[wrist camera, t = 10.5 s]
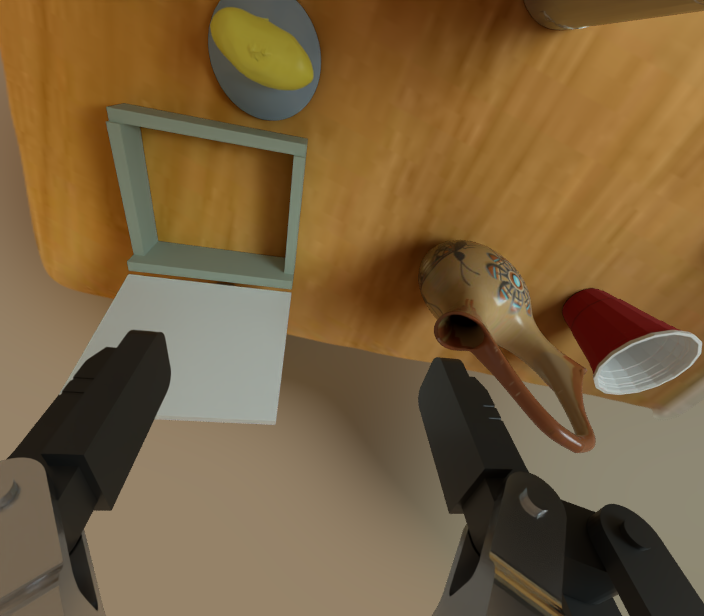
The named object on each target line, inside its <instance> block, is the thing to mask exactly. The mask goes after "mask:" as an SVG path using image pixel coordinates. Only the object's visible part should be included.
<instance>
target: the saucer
mask: <svg viewBox="0 0 704 616" xmlns="http://www.w3.org/2000/svg"><path fill="white" fill-rule="evenodd" d="M226 7H235V8H240V9H242V10H245V11H247V12H248V13H250V14H252V15H255V16H257V17H261V18H266V19H269V22H271V23H273V24H274V25H276V26H277V27H279V28H281V29H282V30H284V31H286V32H288V33H290V34H291V35H292V36H294V37H295V39H296V40H297V41H298V43H299V44H300V45H301V46H302V48H303V49H304V50H305V52H306V53H307V55H308V57H309V59H310V61H311V64H312V67H313V73H314V77H313V80H312V82H311V83H309V84H308V85H307V86H305V87H303V88H301V89H298V90H277V89H273V88H269V87H266V86H263V85H261V84H258V83H257V82H255V81H252V80H251V79H249V78H247V77H245V75H244V74H242V73H240V72H239V71H238V70H237V69H236V67H235V66H234V65H233V64H232V63H231V62H230V61H229V60H228V59H227V58H226V57H225V56H224V55H223V53H222V52H221V51H220V50H219V49H218V47H217V46H216V44H215V42H214V40H213V38H212V35H211V29H210V26H209V34H208V48H209V56H210V61H211V65H212V68H213V71H214V73H215V76H216V78H217V80H218V82H219V84H220V86H221V87H222V89H223V90H224V92H225V93H226V95H227V96H228V97H229V98H230V99H231V101H232V102H233V103H235V104H236V105H237V106H238V107H239V108H240V109H242V110H243V111H245V112H246V113H248V114H250V115H252V116H254V117H257V118H260V119H264V120H282V119H286V118H289V117H291V116H293V115H295V114H297V113H298V112H299V111H301V110H302V109H303V108H304V107H305V106H306V105H307V104H308V102H309V101H310V100H311V98H312V96H313V94H314V92H315V90H316V88H317V85H318V81H319V77H320V71H321V52H320V46H319V41H318V38H317V34H316V31H315V29H314V26H313V24H312V22H311V20H310V18H309V17H308V15H307V13H306V12H305V10H304V9H303V8H302V7H301V5H300V4H299V3H298V2H297V1H296V0H220V2H219V3H218V5H217V7H216V8H215V10H214V13H213V15H212V18H213V16H214V15H215V14H216V13H217V12H218V11H219V10H221V9H223V8H226ZM212 18H211V20H212ZM210 24H211V22H210Z"/></svg>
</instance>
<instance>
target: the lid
mask: <svg viewBox="0 0 704 616" xmlns="http://www.w3.org/2000/svg"><path fill="white" fill-rule="evenodd" d="M290 301H291V293H289V292H280V291H272V290H263V289H254V288H245V287H237V286H228V285H219V284H210V283H202V282H193V281H184V280H176V279H167V278H158V277H149V276H141V275H132V274H128V276H127V278H126V279H125V281H124V283H123V284H122V286H121V288H120V290H119V291H118V293H117V295H116V297H115V298H114V300H113V302H112V304H111V305H110V307H109V309H108V311H107V312H106V314H105V316H104V317H103V319H102V321H101V323H100V324H99V326H98V328H97V330H96V331H95V333H94V335H93V336H92V338H91V340H90V342H89V343H88V345H87V347H86V349H85V350H84V352H83V354H82V356H81V358H80V359H79V361H78V362H77V365H76V366H75V368H74V369H73V371H72V373H71V375H70V376H69V378H68V380H67V382H66V383H65V385H64V387H63V389H64V388H65V386H66V385H67V384H68V383H69V381H70V380H73V376H74V375H75V374H76V373H77V371H78V370H79V369H80V367H81V366H82V365H83V364H84V362H85V361H86V360H87V359H89V358H90V357H92V356H93V355H95V354H96V353H98V352H99V351H101V350H102V349H104V348H105V347H115V348H117V346H118V345H119V344H120V342H121V341H122V340H123V338H124V337H125V335H126V334H127V333H128V332H129V331H130V330H144V331H155V332H162V333H164V335H165V339H166V345H167V350H168V356H169V361H170V367H171V380H170V385H169V388H168V391H167V393H166V395H165V398H164V400H163V402H162V404H161V406H160V408H159V410H158V412H157V415H156V417H155V419H165V420H185V421H206V422H227V423H248V424H270V425H275V424H276V415H277V408H278V399H279V391H280V383H281V375H282V367H283V358H284V350H285V342H286V334H287V326H288V318H289V309H290ZM63 389H62V390H63ZM62 390H61V392H60V394H59V395H61V394H62Z"/></svg>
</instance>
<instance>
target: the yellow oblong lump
mask: <svg viewBox="0 0 704 616" xmlns="http://www.w3.org/2000/svg"><path fill="white" fill-rule="evenodd" d="M210 29H211V35H212V38H213V40H214V42H215V44H216V46H217V47H218V49H219V50H220V51H221V52H222V53H223V55H224V56H225V57H226V58H227V59H228V60H229V61H230V62H231V63H232V64H233V65H234V66H235V67H236V69H237V70H238V71H239V72H240V73H242V74H244V75H245V77H247V78H249V79H251V80H252V81H255V82H257V83H258V84H261V85H263V86H266V87H269V88H273V89H277V90H298V89H301V88H303V87H305V86H307V85H308V84H309V83H311V82H312V80H313V77H314V73H313V67H312V64H311V61H310V59H309V57H308V55H307V53H306V52H305V50H304V49H303V48H302V46H301V45H300V44H299V43H298V41H297V40H296V39H295V37H294V36H292V35H291V34H290V33H288V32H286V31H284V30H282V29H281V28H279V27H277V26H276V25H274V24H273V23H271V22H269V19H266V18H261V17H257V16H255V15H252V14H250V13H248V12H247V11H245V10H242V9H240V8H235V7H226V8H223V9H221V10H219V11H218V12H217V13H216V14H215V15H214V16H213V18H212V20H211V24H210Z"/></svg>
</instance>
